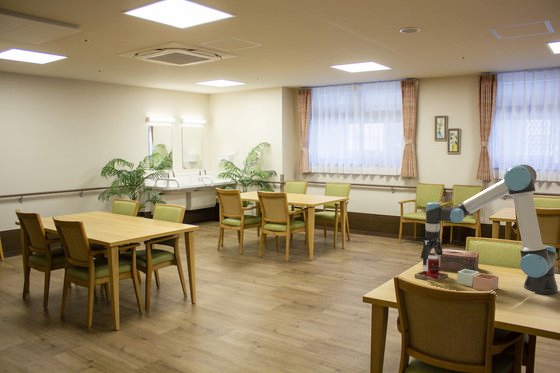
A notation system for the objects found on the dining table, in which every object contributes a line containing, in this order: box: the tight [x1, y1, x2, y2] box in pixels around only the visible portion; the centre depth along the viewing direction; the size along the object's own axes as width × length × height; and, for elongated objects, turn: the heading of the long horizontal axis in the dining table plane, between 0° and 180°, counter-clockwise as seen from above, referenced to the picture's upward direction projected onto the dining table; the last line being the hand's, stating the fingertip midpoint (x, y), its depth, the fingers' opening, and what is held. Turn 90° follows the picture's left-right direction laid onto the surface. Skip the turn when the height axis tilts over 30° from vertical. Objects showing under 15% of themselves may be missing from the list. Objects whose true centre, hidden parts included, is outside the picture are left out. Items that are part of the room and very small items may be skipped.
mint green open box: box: [457, 269, 480, 288], centre depth 253 cm, size 8×8×7 cm
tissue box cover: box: [429, 248, 480, 273], centre depth 284 cm, size 26×14×10 cm, turn 62°
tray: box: [414, 270, 449, 282], centre depth 266 cm, size 13×13×2 cm
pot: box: [472, 272, 499, 292], centre depth 244 cm, size 9×9×7 cm
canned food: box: [424, 255, 440, 278], centre depth 265 cm, size 8×8×11 cm
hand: (431, 268), depth 265 cm, fingers open, 13 cm apart
